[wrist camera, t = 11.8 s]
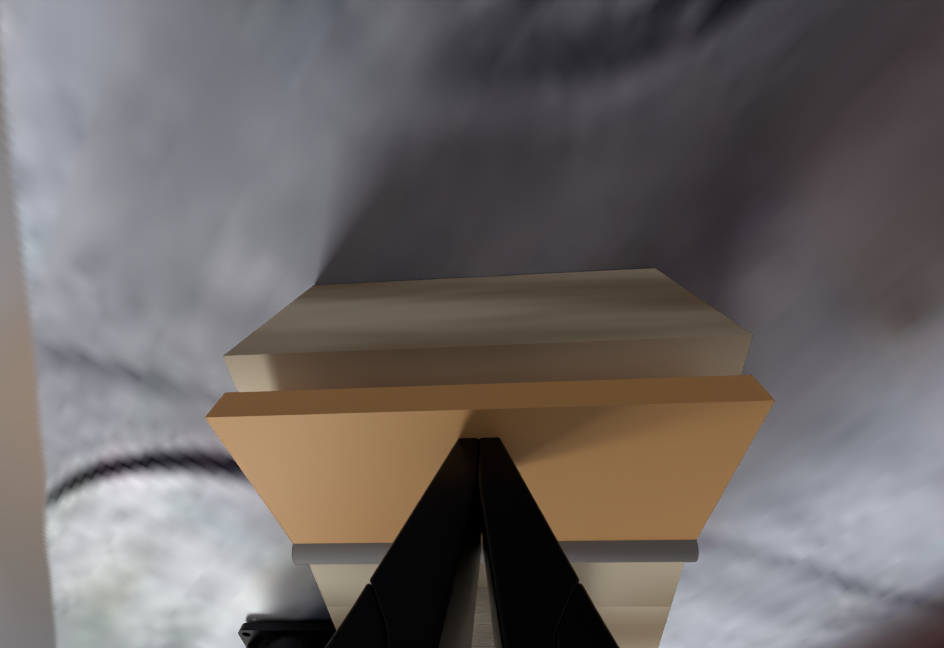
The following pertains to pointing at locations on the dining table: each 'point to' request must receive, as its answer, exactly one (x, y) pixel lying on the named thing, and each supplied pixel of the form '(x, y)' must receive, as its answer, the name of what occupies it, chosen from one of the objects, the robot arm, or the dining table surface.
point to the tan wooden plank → (528, 443)
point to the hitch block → (499, 373)
